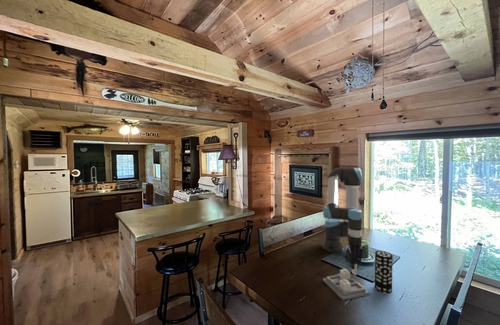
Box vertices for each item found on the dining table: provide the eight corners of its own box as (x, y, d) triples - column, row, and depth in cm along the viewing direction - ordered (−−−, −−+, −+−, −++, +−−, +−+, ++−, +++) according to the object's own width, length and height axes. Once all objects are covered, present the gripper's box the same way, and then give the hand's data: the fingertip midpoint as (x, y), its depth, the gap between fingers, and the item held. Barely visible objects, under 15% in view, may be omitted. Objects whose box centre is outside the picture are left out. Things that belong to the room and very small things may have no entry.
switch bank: (347, 276, 135) (347, 271, 135) (369, 294, 118) (369, 289, 118) (322, 280, 131) (322, 275, 131) (342, 300, 114) (342, 294, 113)
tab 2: (345, 287, 121) (345, 277, 121) (350, 292, 118) (350, 281, 117) (339, 289, 120) (339, 278, 120) (344, 293, 117) (344, 283, 116)
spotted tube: (373, 283, 128) (374, 249, 127) (390, 286, 125) (390, 251, 124) (376, 291, 120) (376, 256, 119) (393, 295, 117) (394, 258, 116)
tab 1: (345, 276, 132) (345, 267, 132) (350, 280, 128) (350, 271, 128) (339, 277, 131) (340, 268, 131) (344, 281, 127) (344, 272, 127)
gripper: (359, 232, 135) (358, 269, 136) (341, 234, 132) (341, 272, 133) (368, 236, 128) (368, 275, 129) (349, 239, 125) (349, 279, 126)
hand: (354, 273), depth 131 cm, fingers closed
